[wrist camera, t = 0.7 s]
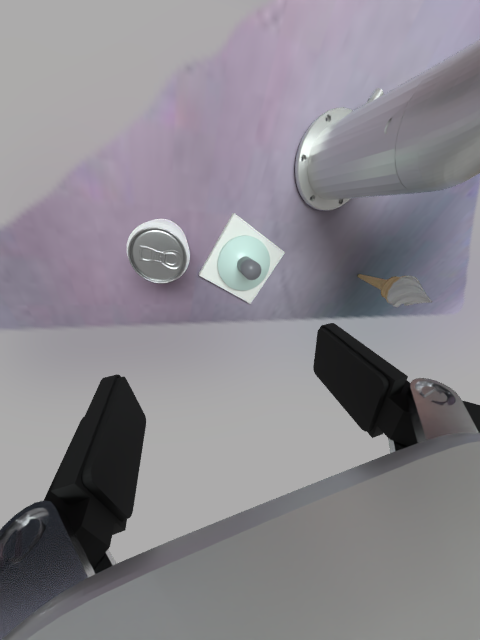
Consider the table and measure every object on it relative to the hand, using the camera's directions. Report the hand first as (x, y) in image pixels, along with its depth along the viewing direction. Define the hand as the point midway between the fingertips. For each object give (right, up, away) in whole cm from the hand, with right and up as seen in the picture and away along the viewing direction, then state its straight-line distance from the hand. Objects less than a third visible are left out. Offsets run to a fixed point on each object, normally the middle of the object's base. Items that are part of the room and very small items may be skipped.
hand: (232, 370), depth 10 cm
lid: (+1, +12, +25) cm, 28 cm away
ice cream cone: (+26, +12, +34) cm, 44 cm away
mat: (+1, +13, +26) cm, 28 cm away
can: (-11, +15, +21) cm, 28 cm away
